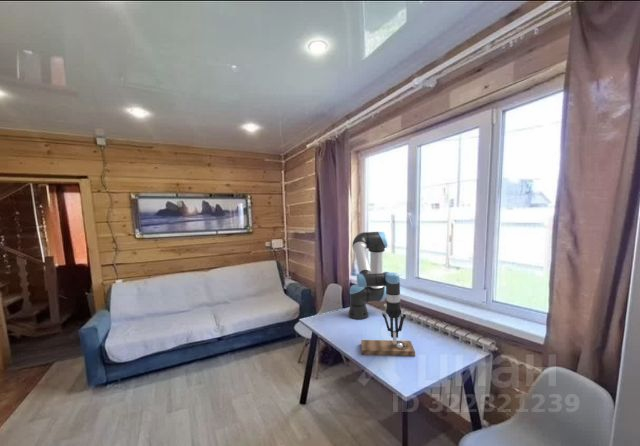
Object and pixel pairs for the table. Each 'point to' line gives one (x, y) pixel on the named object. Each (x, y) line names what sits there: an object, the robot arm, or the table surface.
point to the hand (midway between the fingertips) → (394, 343)
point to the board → (386, 348)
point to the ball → (399, 345)
